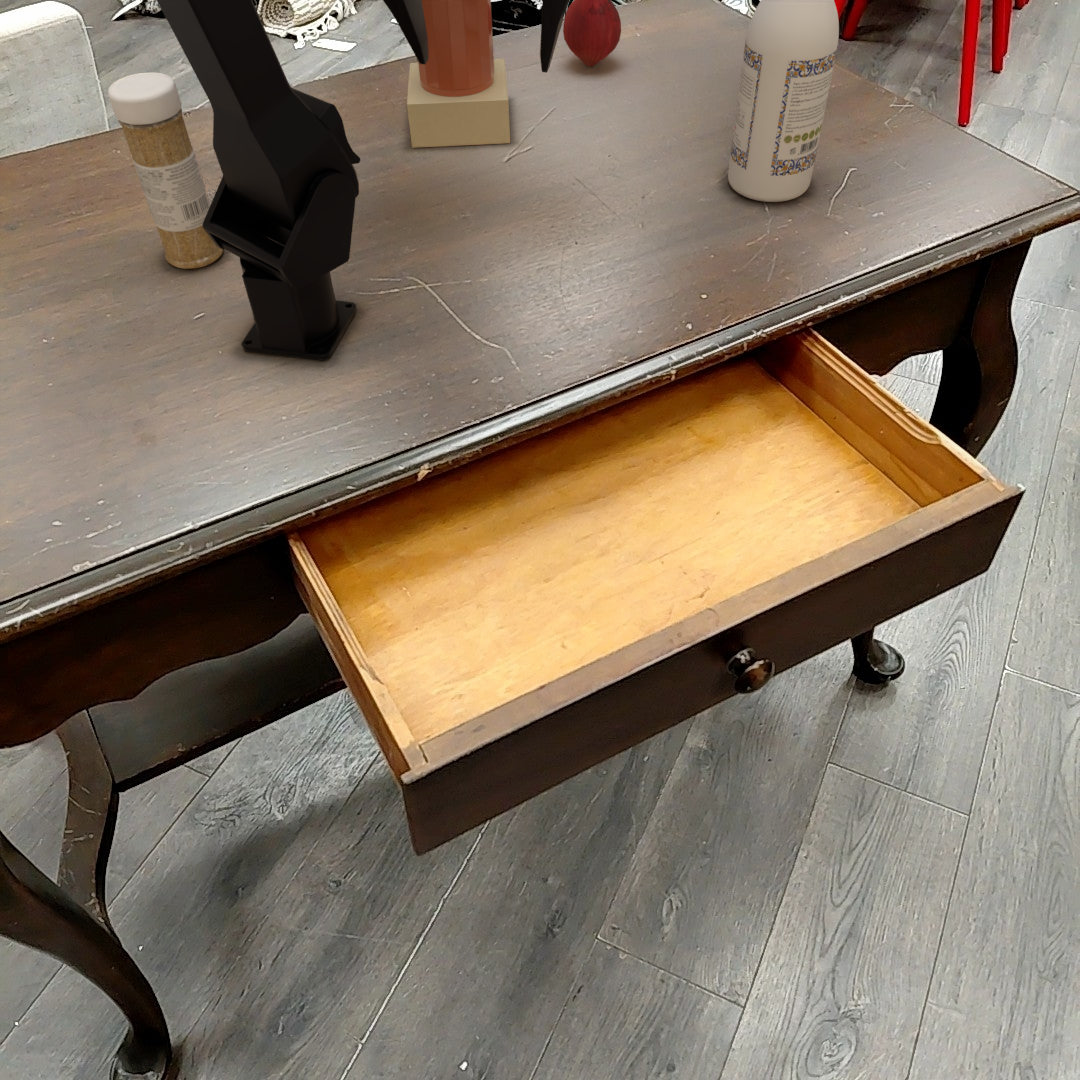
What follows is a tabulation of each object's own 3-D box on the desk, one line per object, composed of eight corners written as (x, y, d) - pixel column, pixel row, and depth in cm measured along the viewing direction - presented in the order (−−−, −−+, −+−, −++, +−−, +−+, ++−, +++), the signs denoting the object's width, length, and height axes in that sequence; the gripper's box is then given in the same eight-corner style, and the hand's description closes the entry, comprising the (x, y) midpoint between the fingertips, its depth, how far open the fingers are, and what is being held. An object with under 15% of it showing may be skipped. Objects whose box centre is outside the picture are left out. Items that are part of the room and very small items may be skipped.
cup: (484, 99, 86) (478, 1, 80) (411, 94, 87) (399, -3, 81) (501, 67, 90) (497, -27, 84) (431, 63, 91) (422, -31, 85)
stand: (510, 143, 89) (508, 99, 86) (412, 148, 88) (406, 104, 86) (506, 100, 95) (504, 58, 92) (414, 105, 95) (409, 62, 92)
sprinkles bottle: (208, 234, 79) (157, 64, 69) (234, 257, 77) (185, 84, 67) (156, 254, 77) (95, 82, 67) (181, 278, 75) (122, 103, 65)
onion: (627, 59, 101) (631, -26, 95) (607, 81, 97) (610, -6, 91) (576, 51, 103) (576, -33, 97) (554, 72, 99) (553, -14, 93)
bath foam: (821, 176, 83) (876, -91, 69) (791, 212, 80) (843, -63, 65) (746, 158, 86) (784, -104, 71) (713, 192, 82) (747, -78, 67)
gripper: (636, -220, 64) (625, 31, 75) (366, -226, 66) (395, 18, 78) (611, -180, 56) (603, 92, 68) (308, -187, 59) (350, 75, 71)
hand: (484, 66), depth 71 cm, fingers open, 9 cm apart
